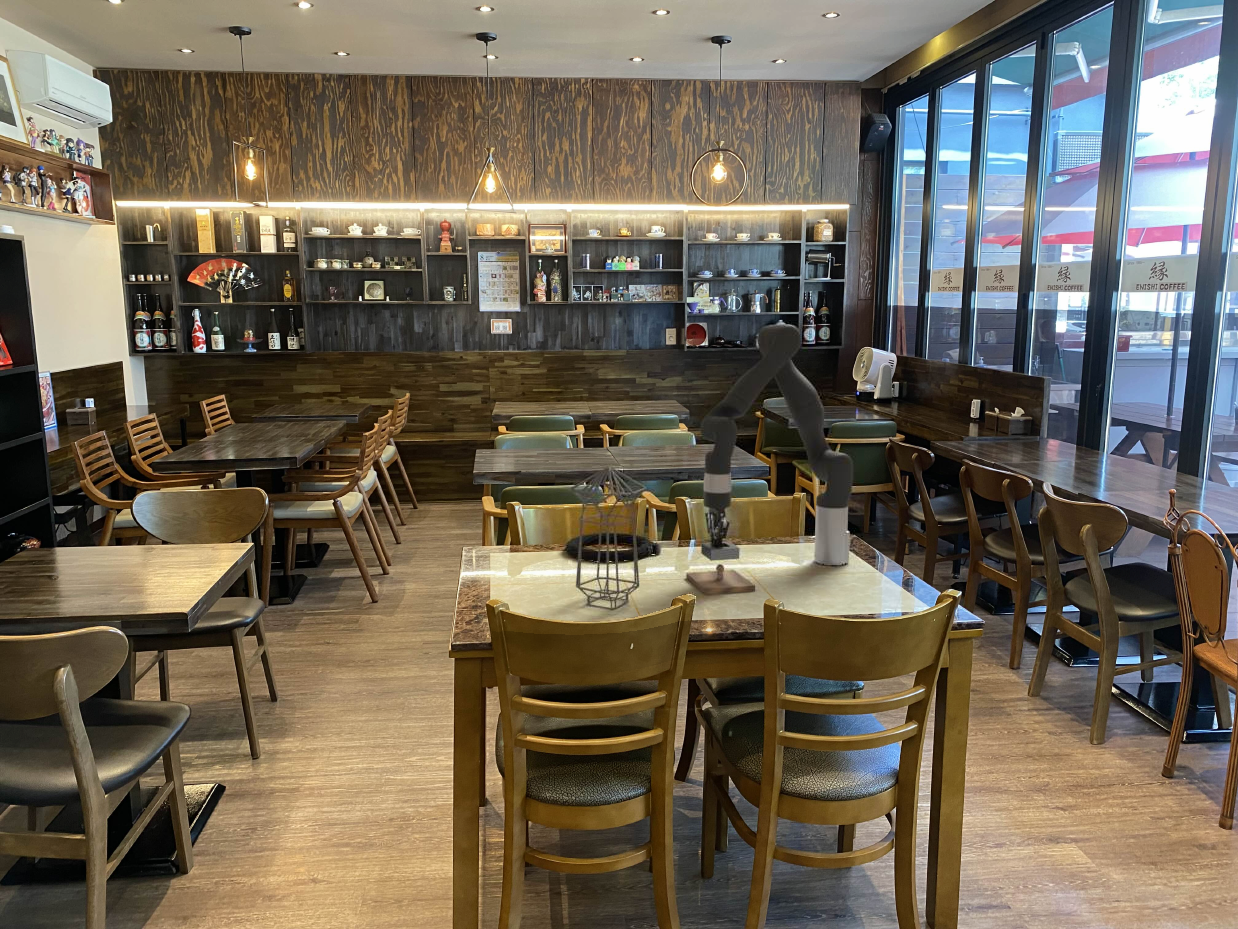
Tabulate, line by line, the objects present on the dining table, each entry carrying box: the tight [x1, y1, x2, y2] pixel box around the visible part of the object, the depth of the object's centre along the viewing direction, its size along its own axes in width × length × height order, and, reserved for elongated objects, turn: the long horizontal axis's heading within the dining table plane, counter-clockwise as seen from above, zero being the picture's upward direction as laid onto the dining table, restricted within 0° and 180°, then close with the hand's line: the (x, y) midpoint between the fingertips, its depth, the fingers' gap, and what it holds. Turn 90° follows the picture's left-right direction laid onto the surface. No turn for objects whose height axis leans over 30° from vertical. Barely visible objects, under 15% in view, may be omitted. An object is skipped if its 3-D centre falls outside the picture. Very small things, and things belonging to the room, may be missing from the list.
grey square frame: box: [700, 540, 741, 562], centre depth 241 cm, size 8×8×3 cm
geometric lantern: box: [568, 466, 649, 610], centre depth 224 cm, size 16×16×35 cm
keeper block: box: [685, 564, 756, 595], centre depth 242 cm, size 14×16×6 cm
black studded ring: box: [564, 532, 662, 562], centre depth 278 cm, size 28×4×30 cm
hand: (716, 551), depth 244 cm, fingers closed on grey square frame, 2 cm apart
